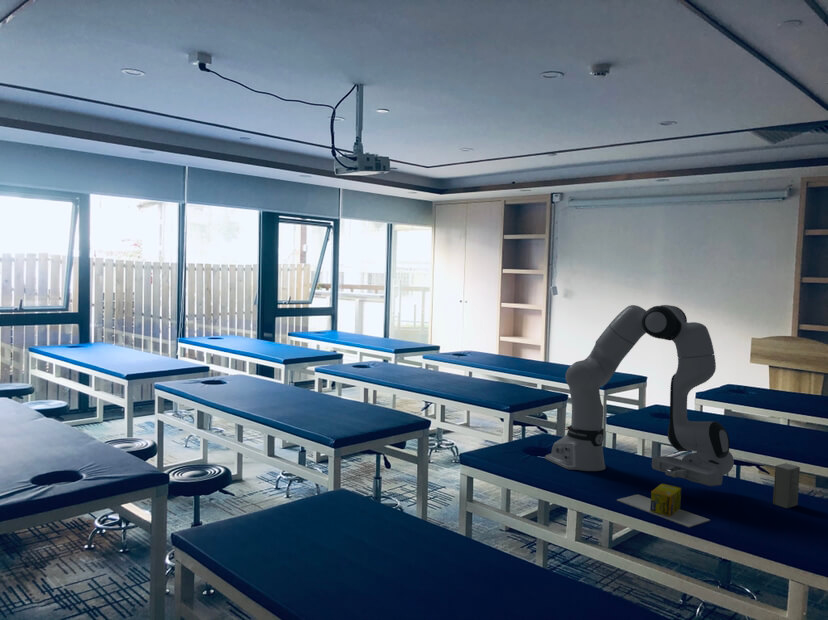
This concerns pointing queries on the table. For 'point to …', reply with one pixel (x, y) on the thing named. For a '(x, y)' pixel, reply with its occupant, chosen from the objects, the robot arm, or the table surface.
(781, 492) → the skincare box
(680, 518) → the mat
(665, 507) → the supplement box
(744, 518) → the table surface
